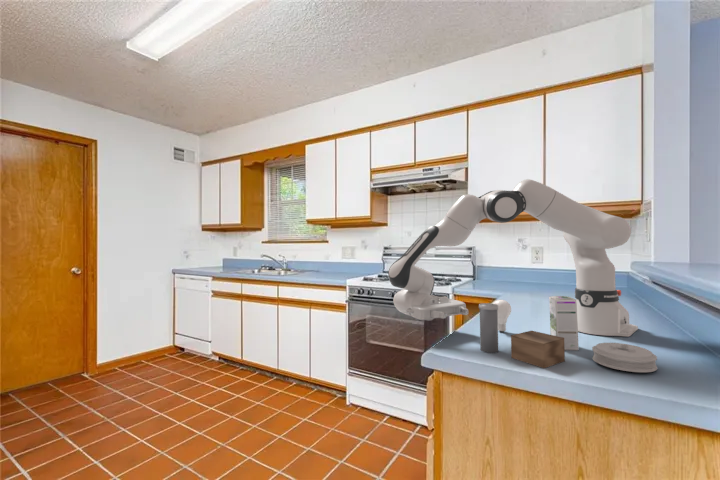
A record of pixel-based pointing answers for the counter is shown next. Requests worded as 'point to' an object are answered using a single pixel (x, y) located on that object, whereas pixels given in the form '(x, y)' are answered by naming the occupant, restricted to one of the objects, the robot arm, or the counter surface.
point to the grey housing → (488, 327)
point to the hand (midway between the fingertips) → (456, 313)
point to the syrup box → (564, 320)
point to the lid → (624, 357)
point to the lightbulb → (503, 314)
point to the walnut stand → (537, 348)
